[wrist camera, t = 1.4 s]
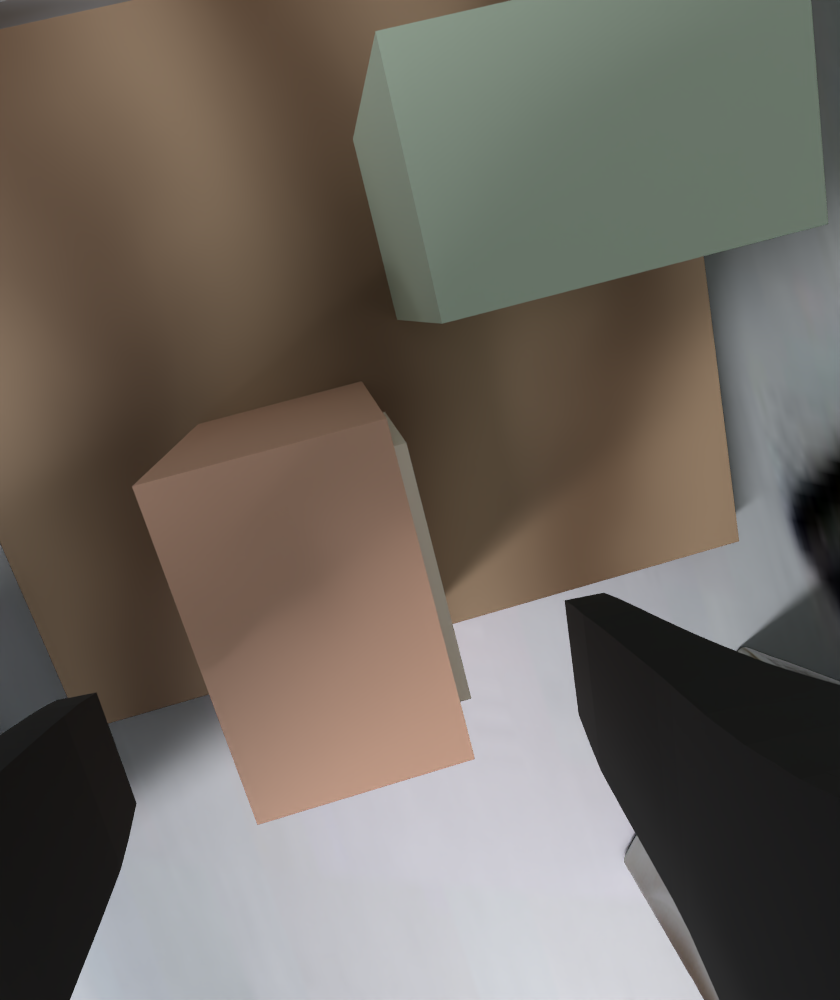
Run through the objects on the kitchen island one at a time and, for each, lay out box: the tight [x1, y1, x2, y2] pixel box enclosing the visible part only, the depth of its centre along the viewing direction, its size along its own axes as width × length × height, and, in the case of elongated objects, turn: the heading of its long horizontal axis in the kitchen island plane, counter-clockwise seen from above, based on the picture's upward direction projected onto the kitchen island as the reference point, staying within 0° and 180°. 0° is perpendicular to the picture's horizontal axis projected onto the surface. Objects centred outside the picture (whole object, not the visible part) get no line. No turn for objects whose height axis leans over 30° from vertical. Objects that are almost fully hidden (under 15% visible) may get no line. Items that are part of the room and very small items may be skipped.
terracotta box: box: [132, 381, 475, 825], centre depth 16 cm, size 5×7×7 cm
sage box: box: [353, 0, 828, 324], centre depth 15 cm, size 5×7×7 cm
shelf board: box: [0, 0, 739, 723], centre depth 19 cm, size 20×18×2 cm
